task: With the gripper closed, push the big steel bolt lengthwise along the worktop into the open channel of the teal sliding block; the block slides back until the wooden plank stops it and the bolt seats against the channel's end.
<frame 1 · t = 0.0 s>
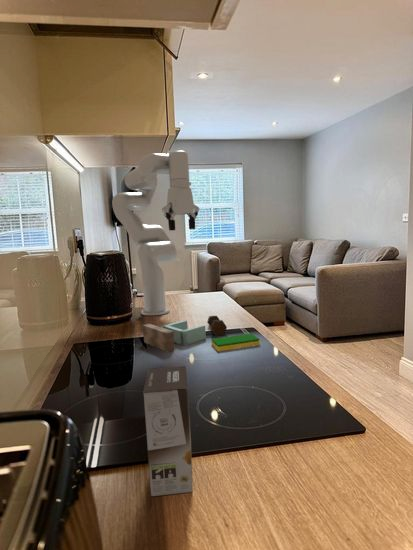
hand: (182, 229, 146), 37 cm above the worktop, tool pointing down, fingers open, 9 cm apart
coffee box: (172, 475, 59), on the worktop
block: (184, 332, 129), point 2 cm above the worktop, slide at 0.0 cm
dish sponge: (235, 346, 120), on the worktop
wooden plank: (158, 346, 122), on the worktop
bolt: (216, 330, 139), on the worktop
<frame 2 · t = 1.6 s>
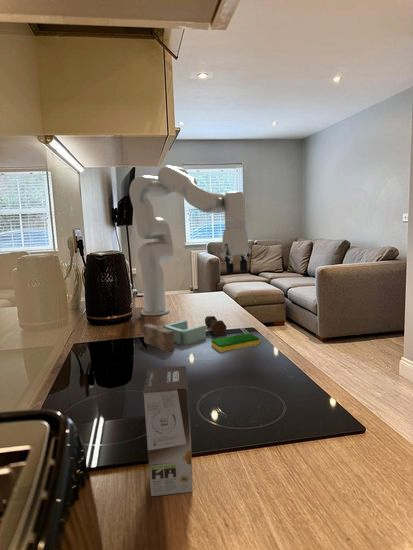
hand: (237, 272, 144), 20 cm above the worktop, tool pointing down, fingers open, 6 cm apart
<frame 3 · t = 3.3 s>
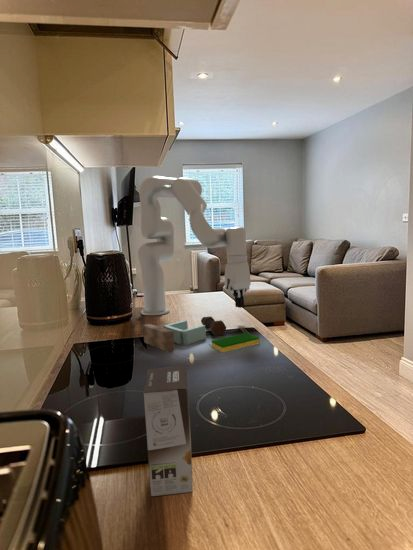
hand: (239, 306, 145), 6 cm above the worktop, tool pointing down, fingers closed
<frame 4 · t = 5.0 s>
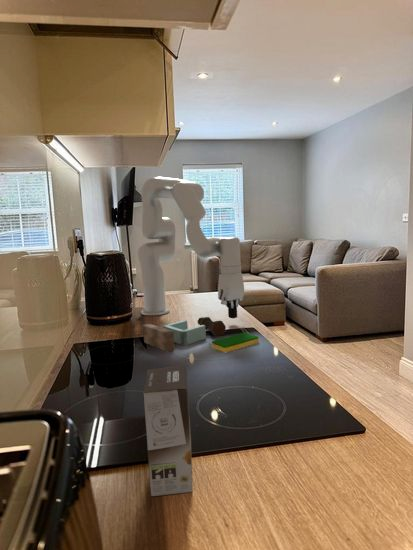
hand: (232, 317, 144), 3 cm above the worktop, tool pointing down, fingers closed
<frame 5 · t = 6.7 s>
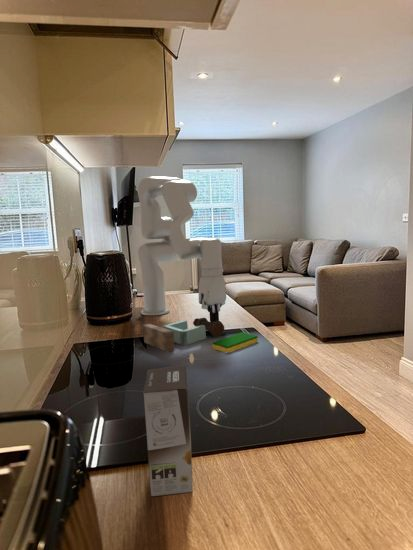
hand: (214, 322, 138), 3 cm above the worktop, tool pointing down, fingers closed
bolt: (207, 332, 136), on the worktop
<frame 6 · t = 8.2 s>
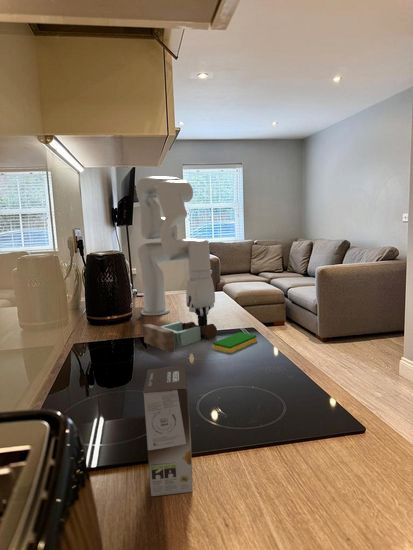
hand: (202, 325, 134), 3 cm above the worktop, tool pointing down, fingers closed
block: (178, 333, 127), point 2 cm above the worktop, slide at 2.3 cm
bolt: (197, 336, 132), on the worktop, touching gripper
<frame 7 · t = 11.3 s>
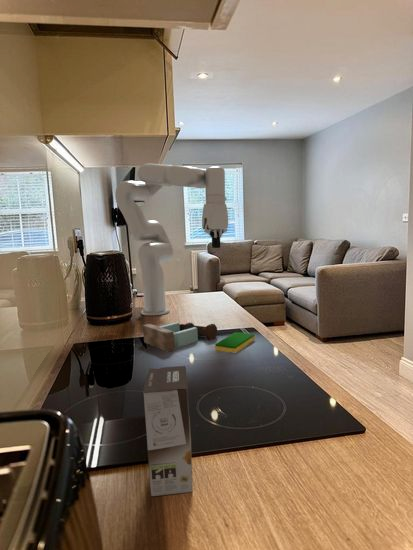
hand: (216, 247, 148), 29 cm above the worktop, tool pointing down, fingers closed
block: (175, 334, 127), point 2 cm above the worktop, slide at 3.5 cm
bolt: (196, 337, 131), on the worktop
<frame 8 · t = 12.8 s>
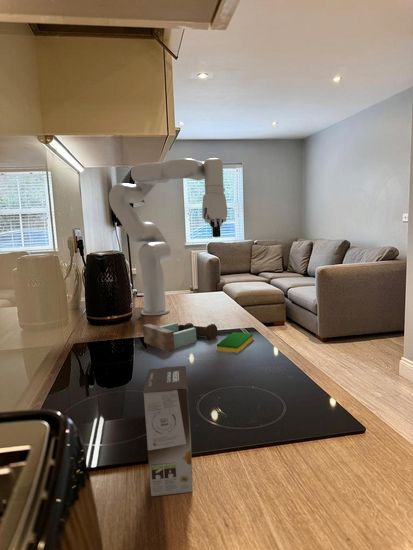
hand: (216, 236, 153), 33 cm above the worktop, tool pointing down, fingers closed
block: (174, 334, 126), point 2 cm above the worktop, slide at 4.0 cm
at the end: bolt inside the target area on the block (4.9 cm from its centre), point -0.5 cm above the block's base; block slide at 4.1 cm; bolt moved 10.6 cm from its start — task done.
